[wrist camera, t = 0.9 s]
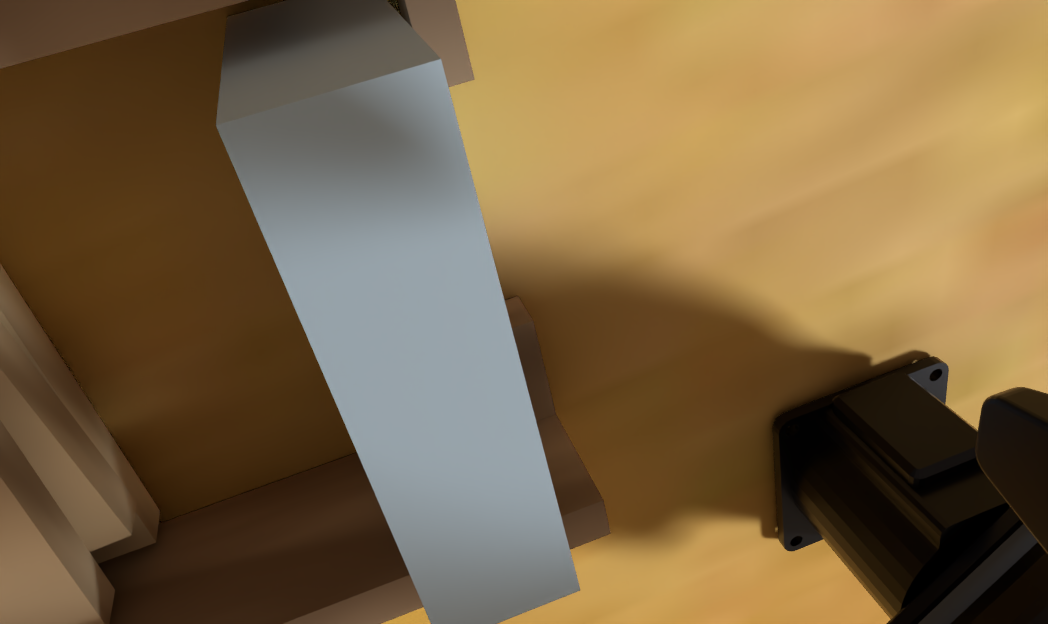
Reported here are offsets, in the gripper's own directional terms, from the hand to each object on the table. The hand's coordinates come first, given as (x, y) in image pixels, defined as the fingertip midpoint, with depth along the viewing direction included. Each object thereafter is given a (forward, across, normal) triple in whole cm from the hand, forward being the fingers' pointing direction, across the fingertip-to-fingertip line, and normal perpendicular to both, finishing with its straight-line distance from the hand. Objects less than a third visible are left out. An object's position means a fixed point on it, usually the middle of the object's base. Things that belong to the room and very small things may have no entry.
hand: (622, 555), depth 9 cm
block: (+13, +1, +1) cm, 13 cm away
